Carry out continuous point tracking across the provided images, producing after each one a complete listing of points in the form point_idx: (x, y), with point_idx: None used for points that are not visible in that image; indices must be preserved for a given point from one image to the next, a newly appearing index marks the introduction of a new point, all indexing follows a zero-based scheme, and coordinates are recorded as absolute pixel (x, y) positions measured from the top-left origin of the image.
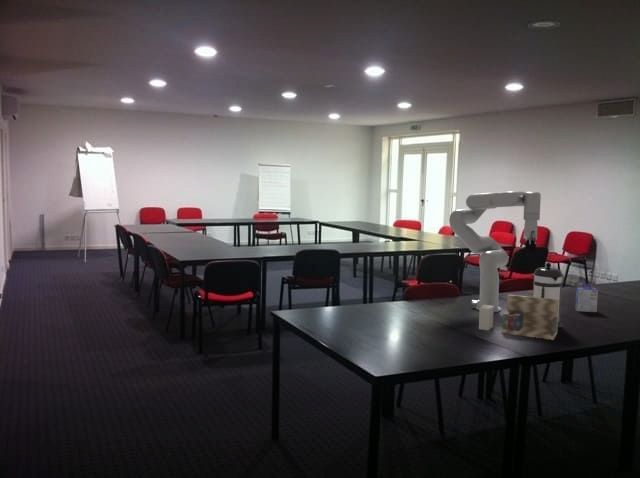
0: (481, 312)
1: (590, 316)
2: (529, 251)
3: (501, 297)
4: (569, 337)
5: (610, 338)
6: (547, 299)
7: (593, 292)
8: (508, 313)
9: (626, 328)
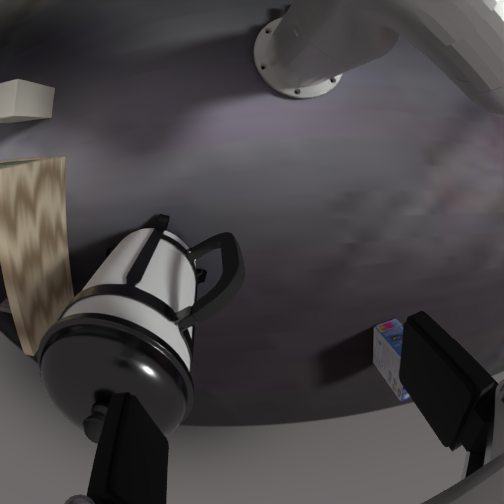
0: None
1: (324, 358)
2: (116, 406)
3: (478, 116)
4: None
5: None
6: (14, 322)
7: (397, 389)
8: None
9: (226, 417)
